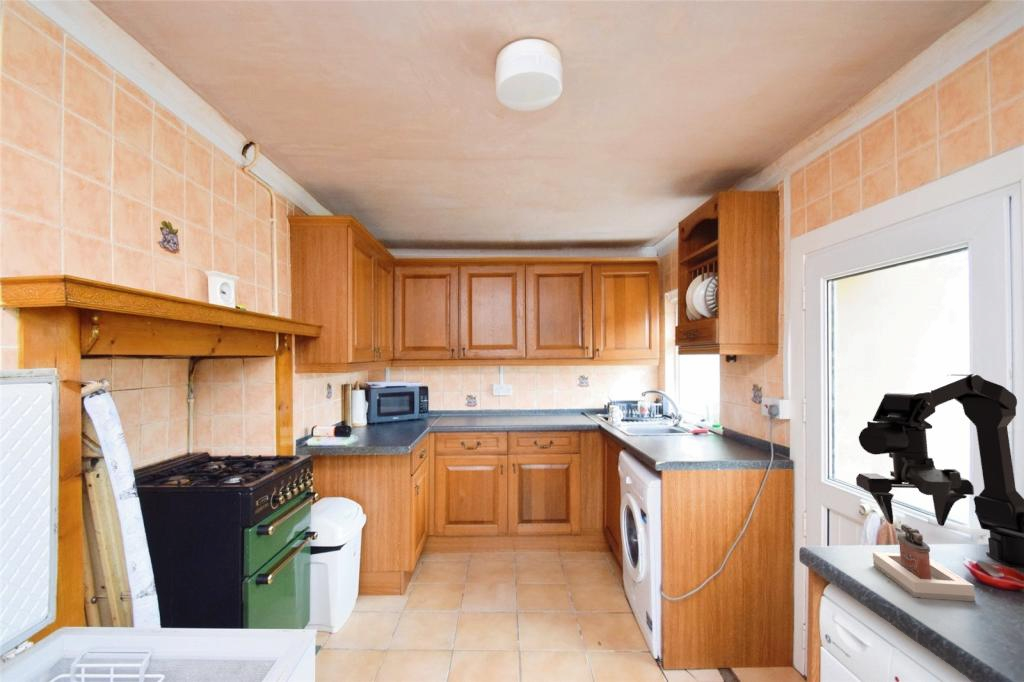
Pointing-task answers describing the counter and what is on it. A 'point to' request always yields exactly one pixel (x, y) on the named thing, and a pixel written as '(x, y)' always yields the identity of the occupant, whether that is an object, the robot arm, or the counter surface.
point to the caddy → (937, 588)
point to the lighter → (914, 552)
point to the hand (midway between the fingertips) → (915, 524)
